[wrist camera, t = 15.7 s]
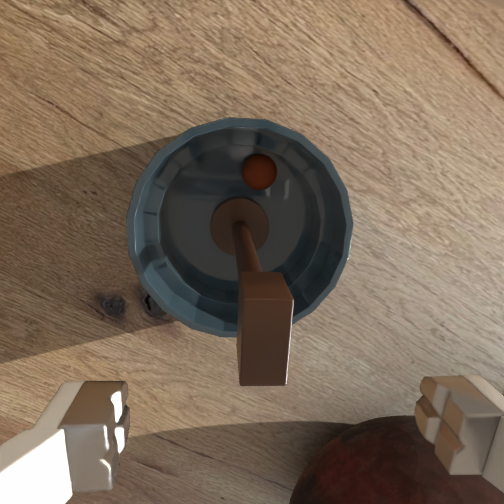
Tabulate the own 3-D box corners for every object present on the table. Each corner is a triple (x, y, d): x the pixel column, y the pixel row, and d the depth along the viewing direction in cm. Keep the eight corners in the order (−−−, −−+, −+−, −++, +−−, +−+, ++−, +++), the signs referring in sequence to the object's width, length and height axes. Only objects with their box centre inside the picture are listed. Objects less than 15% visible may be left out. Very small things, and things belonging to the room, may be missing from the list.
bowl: (141, 118, 29) (119, 111, 23) (337, 129, 31) (366, 124, 25) (149, 303, 34) (133, 338, 28) (318, 304, 36) (338, 337, 30)
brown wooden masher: (211, 195, 31) (193, 276, 11) (268, 197, 31) (344, 278, 12) (210, 250, 32) (193, 406, 13) (265, 251, 33) (328, 403, 13)
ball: (234, 185, 28) (234, 154, 29) (254, 200, 31) (254, 171, 32) (265, 172, 27) (264, 141, 28) (284, 189, 29) (282, 160, 30)
